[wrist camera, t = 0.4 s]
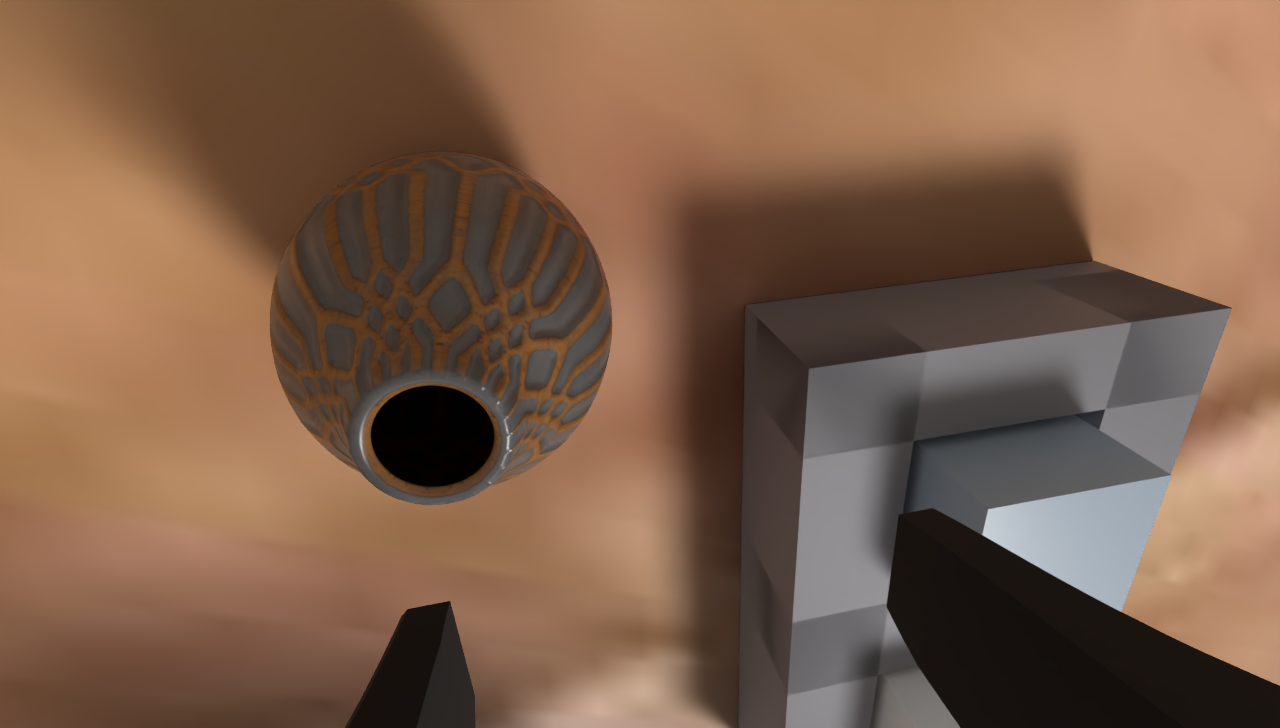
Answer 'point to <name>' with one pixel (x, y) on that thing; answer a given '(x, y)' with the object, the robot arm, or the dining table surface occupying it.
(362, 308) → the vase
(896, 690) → the white block
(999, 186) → the dining table surface
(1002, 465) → the slate key
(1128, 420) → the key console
